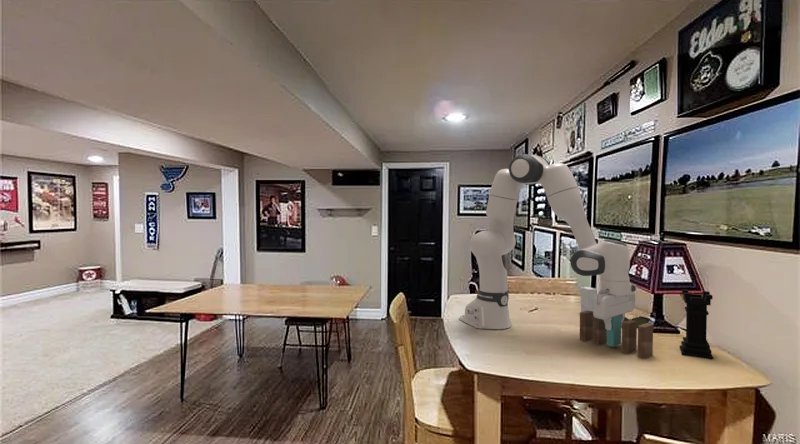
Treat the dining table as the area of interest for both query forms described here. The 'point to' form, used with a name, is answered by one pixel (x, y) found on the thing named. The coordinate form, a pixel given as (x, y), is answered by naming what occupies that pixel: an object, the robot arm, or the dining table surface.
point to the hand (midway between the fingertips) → (614, 327)
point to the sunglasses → (638, 320)
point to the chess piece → (696, 325)
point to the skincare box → (587, 298)
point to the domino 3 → (614, 332)
